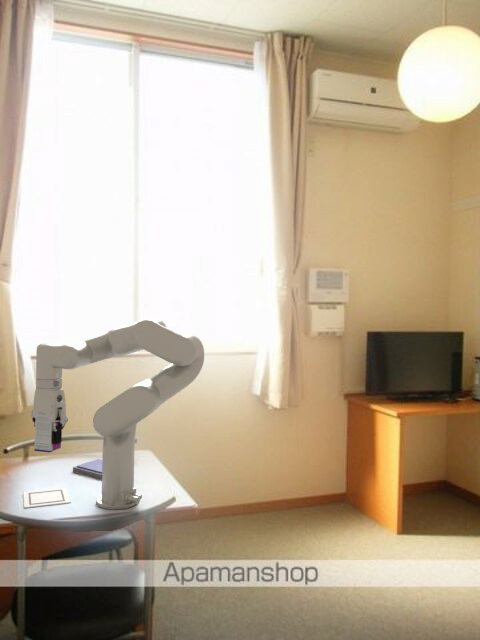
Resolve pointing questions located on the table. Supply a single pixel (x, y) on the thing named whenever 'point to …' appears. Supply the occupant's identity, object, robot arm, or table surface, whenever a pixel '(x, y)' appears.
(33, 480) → the table surface
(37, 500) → the marked card
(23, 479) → the table surface
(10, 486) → the table surface
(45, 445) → the supplement box
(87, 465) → the ink pad
